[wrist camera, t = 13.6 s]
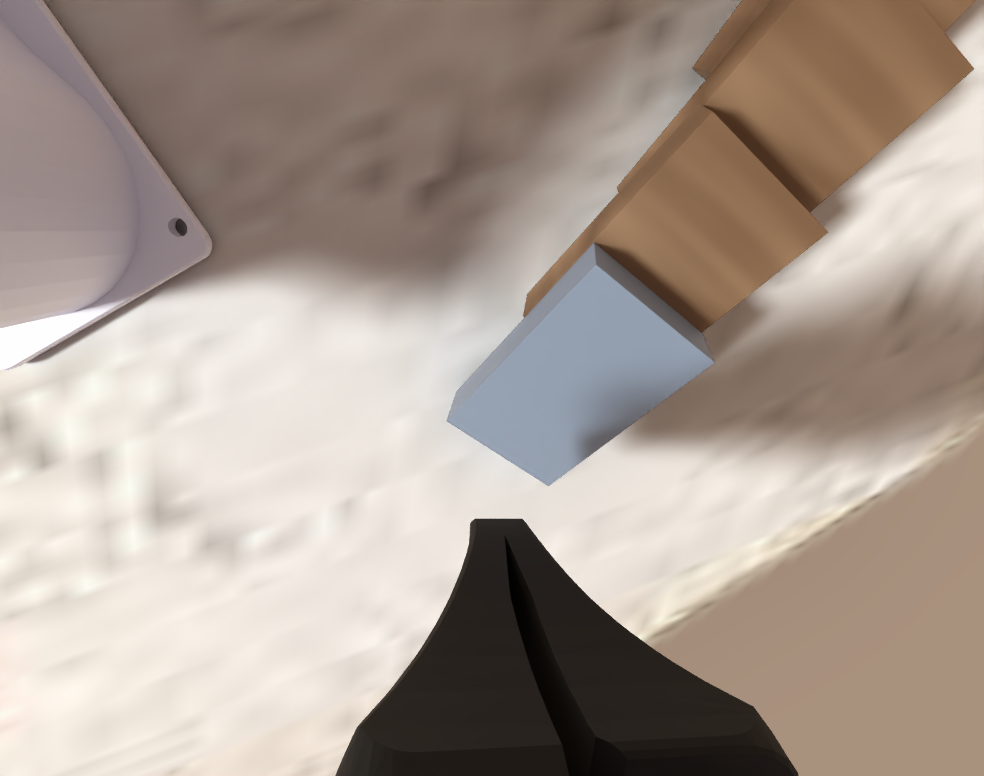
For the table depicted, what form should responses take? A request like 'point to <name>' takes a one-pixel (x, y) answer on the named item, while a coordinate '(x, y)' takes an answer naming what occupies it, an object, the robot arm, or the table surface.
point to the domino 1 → (697, 224)
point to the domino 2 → (579, 369)
